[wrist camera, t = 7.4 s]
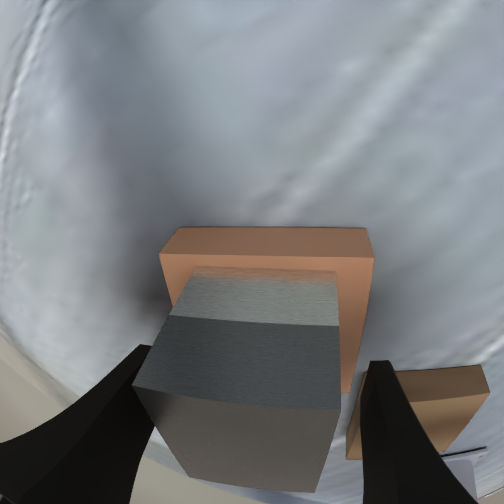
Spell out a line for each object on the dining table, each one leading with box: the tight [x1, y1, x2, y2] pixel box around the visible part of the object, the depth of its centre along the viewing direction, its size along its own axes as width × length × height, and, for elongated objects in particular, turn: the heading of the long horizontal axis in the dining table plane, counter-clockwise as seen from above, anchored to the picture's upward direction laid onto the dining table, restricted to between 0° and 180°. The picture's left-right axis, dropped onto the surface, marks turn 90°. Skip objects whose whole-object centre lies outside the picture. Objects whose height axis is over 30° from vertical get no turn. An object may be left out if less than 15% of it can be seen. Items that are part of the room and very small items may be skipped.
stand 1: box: [159, 227, 375, 393], centre depth 13 cm, size 7×7×2 cm
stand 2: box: [346, 365, 490, 460], centre depth 15 cm, size 7×7×2 cm
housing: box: [132, 266, 341, 493], centre depth 10 cm, size 6×4×5 cm
